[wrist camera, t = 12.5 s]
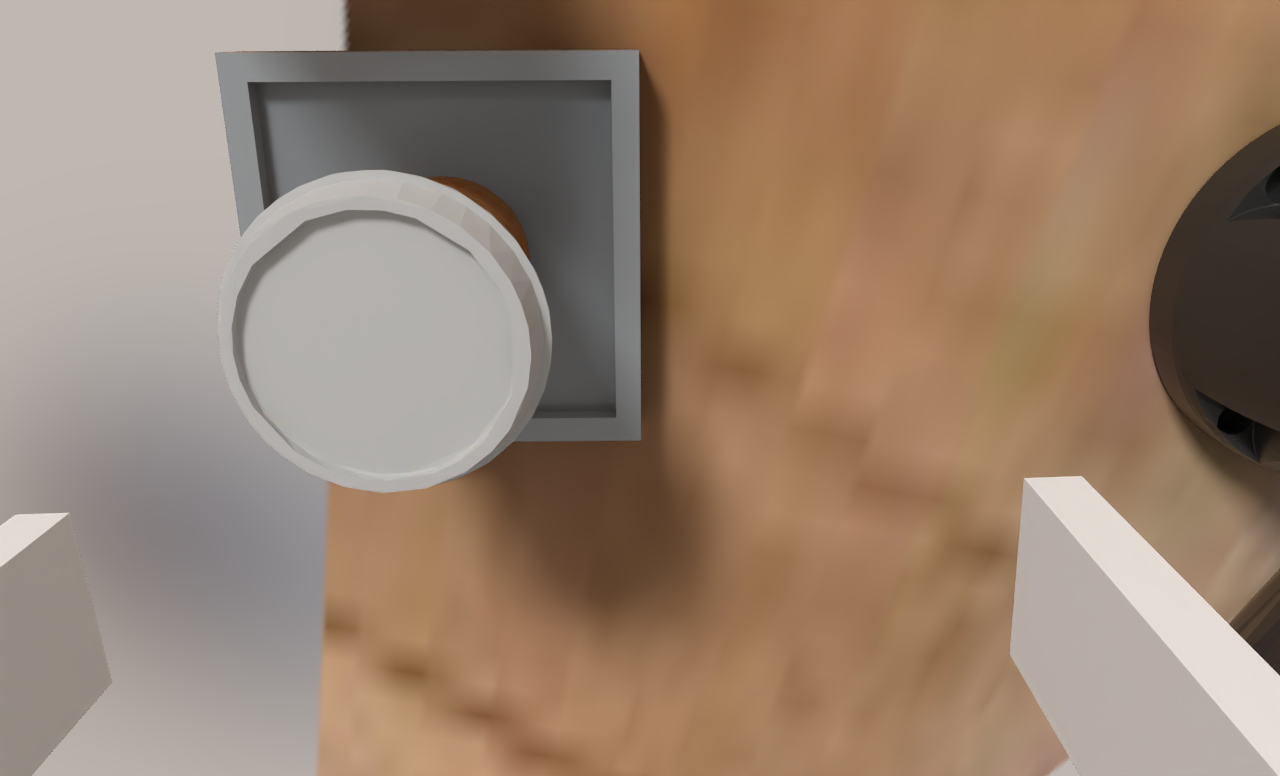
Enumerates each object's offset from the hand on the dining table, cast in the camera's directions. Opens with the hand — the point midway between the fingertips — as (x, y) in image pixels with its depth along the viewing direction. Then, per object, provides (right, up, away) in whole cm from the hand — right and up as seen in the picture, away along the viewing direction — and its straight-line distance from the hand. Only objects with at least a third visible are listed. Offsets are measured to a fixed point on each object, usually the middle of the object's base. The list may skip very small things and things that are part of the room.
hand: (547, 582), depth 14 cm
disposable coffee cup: (-6, +8, +25) cm, 27 cm away
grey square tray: (-6, +8, +26) cm, 28 cm away
